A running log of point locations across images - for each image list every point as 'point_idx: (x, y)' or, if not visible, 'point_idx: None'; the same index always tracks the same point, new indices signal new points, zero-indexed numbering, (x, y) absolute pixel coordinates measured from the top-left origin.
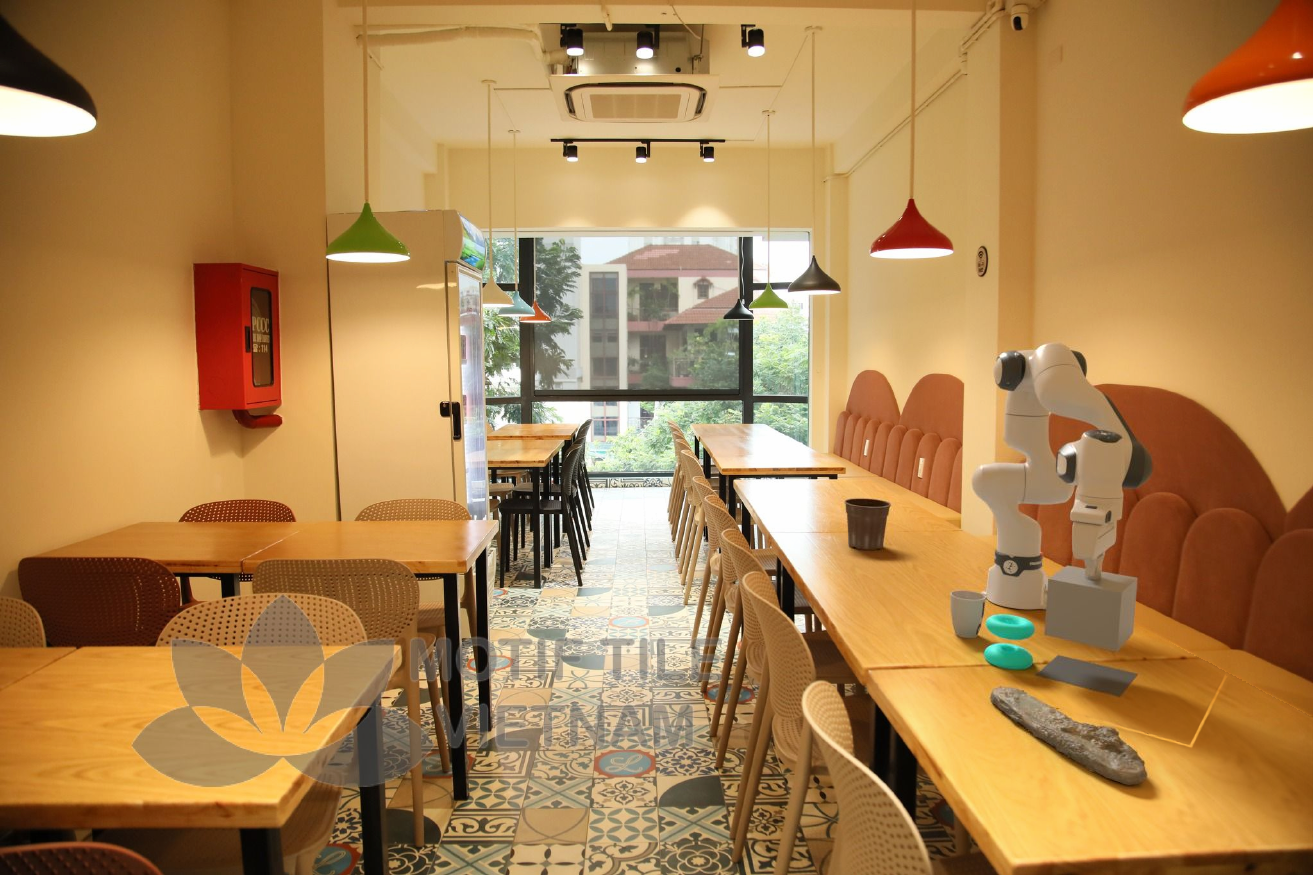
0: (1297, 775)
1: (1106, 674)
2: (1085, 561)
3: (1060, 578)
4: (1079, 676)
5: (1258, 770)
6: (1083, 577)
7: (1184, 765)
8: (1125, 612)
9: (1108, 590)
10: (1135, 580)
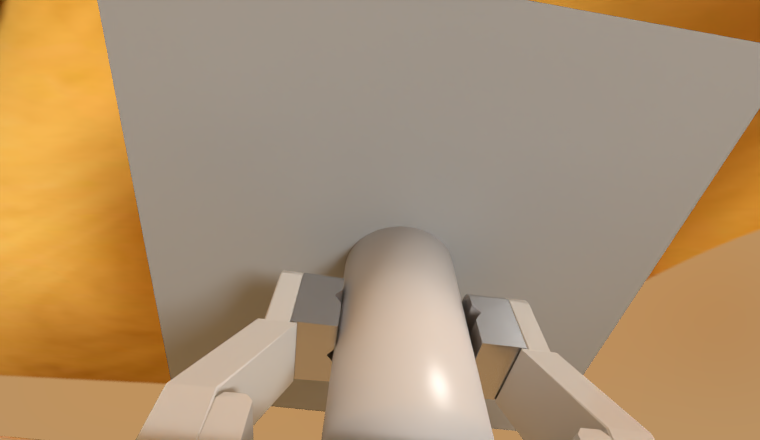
0: (151, 379)
1: None
2: (196, 369)
3: (210, 49)
4: None
5: (122, 349)
6: (384, 217)
7: (34, 276)
8: None
9: (166, 350)
10: (498, 424)
